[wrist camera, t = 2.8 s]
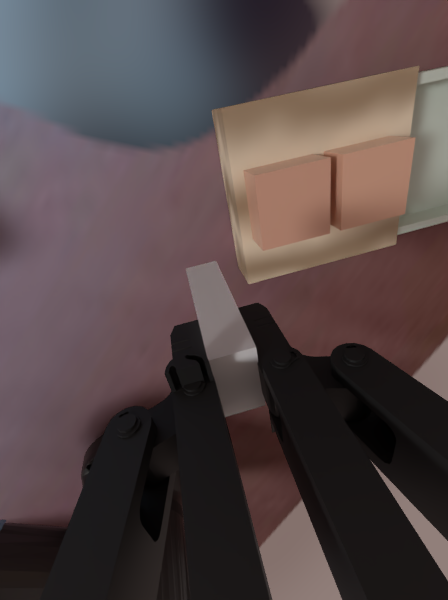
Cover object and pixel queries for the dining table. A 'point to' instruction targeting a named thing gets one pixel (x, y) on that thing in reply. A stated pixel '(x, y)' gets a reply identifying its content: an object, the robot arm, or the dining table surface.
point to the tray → (428, 154)
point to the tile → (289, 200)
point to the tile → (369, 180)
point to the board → (304, 141)
